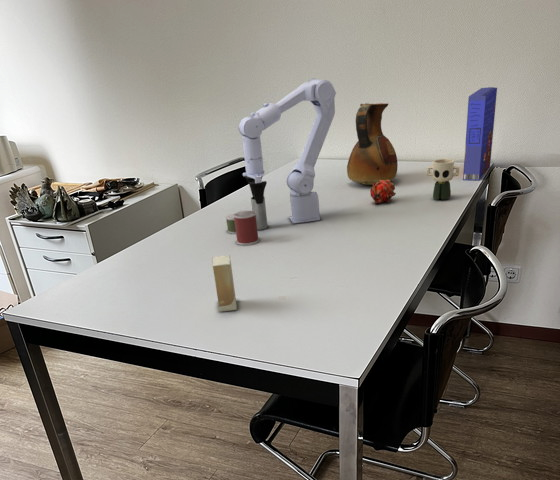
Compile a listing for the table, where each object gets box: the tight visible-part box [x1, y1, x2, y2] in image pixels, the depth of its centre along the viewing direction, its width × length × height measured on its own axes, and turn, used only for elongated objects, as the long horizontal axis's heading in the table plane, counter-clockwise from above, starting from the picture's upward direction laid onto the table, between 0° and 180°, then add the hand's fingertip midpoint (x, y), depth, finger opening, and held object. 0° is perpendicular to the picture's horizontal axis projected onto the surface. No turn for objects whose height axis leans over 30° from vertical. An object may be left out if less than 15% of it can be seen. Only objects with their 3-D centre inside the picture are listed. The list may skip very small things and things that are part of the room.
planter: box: [250, 196, 269, 231], centre depth 198 cm, size 4×4×10 cm
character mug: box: [426, 158, 460, 200], centre depth 208 cm, size 11×7×13 cm, turn 66°
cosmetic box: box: [211, 254, 238, 313], centre depth 145 cm, size 6×4×12 cm
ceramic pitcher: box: [346, 102, 399, 186], centre depth 230 cm, size 20×20×30 cm
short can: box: [225, 212, 236, 235], centre depth 199 cm, size 7×7×5 cm
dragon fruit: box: [369, 179, 396, 205], centre depth 212 cm, size 8×8×12 cm
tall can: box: [234, 209, 260, 246], centre depth 187 cm, size 7×7×9 cm
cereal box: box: [462, 86, 498, 181], centre depth 229 cm, size 22×6×30 cm, turn 152°
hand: (258, 200), depth 196 cm, fingers open, 7 cm apart
